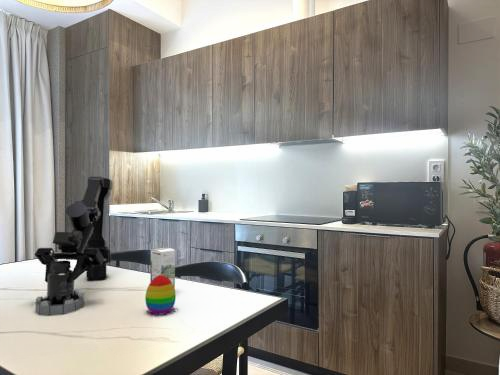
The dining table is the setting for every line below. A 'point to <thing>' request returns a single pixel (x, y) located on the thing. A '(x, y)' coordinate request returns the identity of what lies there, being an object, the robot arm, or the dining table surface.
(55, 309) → the grey segmented ring
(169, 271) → the syrup box
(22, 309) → the dining table surface
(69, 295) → the supplement bottle
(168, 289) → the decorative egg
